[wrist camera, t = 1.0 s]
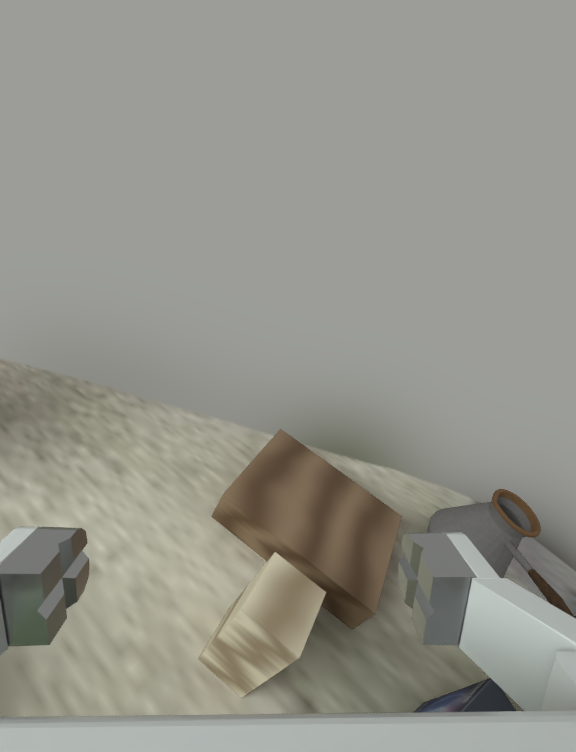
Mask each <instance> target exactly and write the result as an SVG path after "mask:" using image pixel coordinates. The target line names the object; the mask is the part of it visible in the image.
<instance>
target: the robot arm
mask: <svg viewBox="0 0 576 752" xmlns="http://www.w3.org/2000/svg"><path fill="white" fill-rule="evenodd" d="M86 544H87V537H86V531H85V530H83V529H82V528H63V527H25V526H22V527H18V528H15V529H14V530H13V531H12V532H11V533H9V534H8V535H7V536H6V537H5V538H4V539H3V540H2V541H1V542H0V655H1V654H2V653H3V652H5V651H6V650H7V649H8V646H33V645H50V643H51V642H52V640H53V639H54V637H55V636H56V634H57V632H58V631H59V629H60V628H61V626H62V625H63V623H64V622H65V620H66V618H67V614H66V609H67V608H68V607H70V606H71V605H73V604H74V603H76V602H77V601H78V600H79V598H80V596H81V595H82V593H83V591H84V589H85V586H86V583H87V580H88V576H89V558H88V557H87V556H86V555H85V554H84V553H83V551H82V550H83V548H84V547H85V546H86ZM401 548H402V550H403V552H404V554H405V555H404V557H403V558H402V559H401V560H400V561H399V566H398V580H399V587H400V591H401V594H402V597H403V599H404V602H405V603H406V604H407V605H408V606H410V607H411V608H412V609H413V612H412V621H413V623H414V625H415V628H416V630H417V632H418V635H419V637H420V639H421V641H422V644H428V645H460V646H459V648H460V649H461V650H462V651H463V652H464V653H465V654H466V655H467V656H469V657H470V658H471V659H472V660H473V661H474V662H475V663H476V664H477V665H478V666H479V667H480V668H481V669H482V670H483V671H484V672H485V673H486V674H487V675H488V676H489V677H490V678H491V679H492V680H493V681H494V682H495V683H496V684H497V685H498V686H499V687H500V688H501V689H502V690H503V691H505V692H506V693H507V694H508V695H509V696H510V697H511V698H512V699H513V700H514V701H515V702H516V703H517V704H518V705H519V706H520V707H521V708H522V709H523V710H524V711H499V712H421V713H314V714H222V715H135V716H46V717H0V752H576V619H575V618H574V617H572V616H570V615H569V614H567V613H565V612H563V611H562V610H560V609H558V608H557V607H555V606H553V605H551V604H550V603H548V602H546V601H545V600H543V599H541V598H539V597H538V596H536V595H534V594H533V593H531V592H529V591H527V590H526V589H524V588H522V587H521V586H519V585H517V584H515V583H514V582H512V581H510V580H509V579H507V578H500V577H499V576H498V575H497V573H496V572H495V571H494V570H493V568H492V567H491V566H490V565H489V563H488V562H487V561H486V560H485V558H484V557H483V556H482V555H481V553H480V552H479V551H478V550H477V548H476V547H475V546H474V545H473V543H472V542H471V541H470V540H469V538H468V537H467V536H466V535H465V534H463V533H462V532H442V533H404V535H403V537H402V543H401Z"/></svg>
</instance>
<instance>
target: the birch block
mask: <svg viewBox="0 0 576 752" xmlns="http://www.w3.org/2000/svg"><path fill="white" fill-rule="evenodd" d="M325 594H326V592H325V591H324V590H323V589H321V588H320V587H319V586H318V585H316V584H315V583H314V582H312V581H311V580H310V579H309V578H307V577H306V576H305V575H304V574H302V573H301V572H300V571H299V570H297V569H296V568H295V567H294V566H292V565H291V564H290V563H289V562H287V561H286V560H285V559H284V558H282V557H281V556H280V555H279V554H277V553H276V552H275V553H274V554H273V555H272V556H271V558H270V559H269V560H268V561H267V562H266V564H265V565H264V566H263V567H262V569H261V570H260V571H259V572H258V574H257V575H256V576H255V577H254V579H253V580H252V581H251V582H250V584H249V585H248V586H247V587H246V588H245V590H244V591H243V592H242V593H241V595H240V596H239V597H238V598H237V600H236V601H235V602H234V603H233V605H232V606H231V607H230V608H229V610H228V611H227V613H226V615H225V616H224V618H223V619H222V621H221V623H220V624H219V626H218V628H217V629H216V631H215V632H214V634H213V636H212V637H211V639H210V640H209V642H208V644H207V645H206V647H205V648H204V650H203V652H202V653H201V655H200V656H199V658H198V659H199V660H200V661H201V662H202V663H203V664H204V665H205V666H206V667H208V668H209V669H210V670H211V671H212V672H213V673H214V674H215V675H216V676H218V677H219V678H220V679H221V680H222V681H223V682H224V683H225V684H227V685H228V686H229V687H230V688H231V689H232V690H233V691H234V692H235V693H237V694H238V695H239V696H240V697H241V698H242V697H243V696H245V695H246V694H248V693H249V692H251V691H252V690H254V689H255V688H257V687H258V686H259V685H261V684H262V683H264V682H265V681H267V680H268V679H270V678H271V677H273V676H274V675H275V674H277V673H278V672H280V671H281V670H283V669H284V668H286V667H287V666H289V665H290V664H291V663H293V662H294V661H296V660H297V659H299V658H300V656H301V653H302V651H303V649H304V646H305V644H306V641H307V639H308V636H309V634H310V631H311V629H312V626H313V624H314V621H315V619H316V617H317V614H318V612H319V609H320V607H321V604H322V602H323V599H324V597H325Z"/></svg>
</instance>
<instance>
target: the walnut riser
mask: <svg viewBox="0 0 576 752" xmlns="http://www.w3.org/2000/svg"><path fill="white" fill-rule="evenodd" d="M212 517H213V518H214V519H215V520H217V521H218V522H219V523H220V524H222V525H223V526H224V527H225V528H227V529H228V530H229V531H230V532H231V533H233V534H234V535H235V536H236V537H238V538H239V539H240V540H241V541H243V542H244V543H245V544H246V545H248V546H249V547H250V548H251V549H253V550H254V551H255V552H256V553H258V554H259V555H260V556H261V557H263V558H264V559H265V560H266V561H268V560H269V559H270V558H271V556H272V555H273V554H274V553H275V552H276V553H277V554H279V555H280V556H281V557H282V558H284V559H285V560H286V561H287V562H289V563H290V564H291V565H292V566H294V567H295V568H296V569H297V570H299V571H300V572H301V573H302V574H304V575H305V576H306V577H307V578H309V579H310V580H311V581H312V582H314V583H315V584H316V585H318V586H319V587H320V588H321V589H323V590H324V591H325V592H326V594H325V597H324V599H323V602H322V604H321V605H322V606H324V607H325V608H326V609H327V610H328V611H330V612H331V613H332V614H333V615H335V616H336V617H337V618H338V619H340V620H341V621H342V622H343V623H345V624H346V625H347V626H348V627H350V628H351V629H354V628H355V627H357V626H358V625H360V624H361V623H363V622H364V621H366V620H367V619H369V618H370V617H372V616H373V615H375V614H376V610H377V607H378V603H379V599H380V596H381V592H382V588H383V584H384V581H385V577H386V573H387V569H388V566H389V562H390V558H391V554H392V551H393V547H394V543H395V539H396V536H397V532H398V528H399V524H400V521H401V517H402V516H401V515H399V514H398V513H397V512H395V511H394V510H392V509H391V508H390V507H388V506H387V505H385V504H384V503H383V502H381V501H380V500H379V499H377V498H376V497H374V496H373V495H372V494H370V493H369V492H367V491H366V490H365V489H363V488H362V487H360V486H359V485H358V484H356V483H355V482H354V481H352V480H351V479H349V478H348V477H347V476H345V475H344V474H342V473H341V472H340V471H338V470H337V469H336V468H334V467H333V466H331V465H330V464H329V463H327V462H326V461H324V460H323V459H322V458H320V457H319V456H317V455H316V454H315V453H313V452H312V451H311V450H309V449H308V448H306V447H305V446H304V445H302V444H301V443H299V442H298V441H297V440H295V439H294V438H293V437H291V436H290V435H288V434H287V433H286V432H284V431H283V430H281V429H280V430H279V432H278V433H277V434H276V435H275V436H274V437H273V438H272V439H271V440H270V442H269V443H268V444H267V445H266V446H265V447H264V448H263V450H262V451H261V452H260V453H259V454H258V455H257V456H256V457H255V459H254V460H253V461H252V462H251V463H250V464H249V465H248V467H247V468H246V469H245V470H244V471H243V472H242V473H241V474H240V476H239V477H238V478H237V479H236V480H235V481H234V482H233V484H232V485H231V486H230V487H229V488H228V489H227V490H226V491H225V493H224V494H223V495H222V497H221V499H220V501H219V503H218V505H217V507H216V509H215V511H214V513H213V515H212Z"/></svg>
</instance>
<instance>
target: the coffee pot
mask: <svg viewBox="0 0 576 752" xmlns="http://www.w3.org/2000/svg"><path fill="white" fill-rule="evenodd" d="M540 531H541V528H540V523H539V521H538V519H537V517H536V515H535V514H534V512H533V511H532V510H531V508H530V507H529V506H528V505H527V504H526V503H525V502H524V501H523V500H522V499H521V498H520V497H518V496H517V495H515V494H513V493H512V492H510V491H507V490H504V489H499V490H496V491H495V492H494V494H493V497H492V501H491V502H487V503H480V504H473V505H466V506H459V507H452V508H445V509H441V510H439V511H436V512H435V513H434V514H433V516H432V517H431V519H430V522H429V526H428V533H442V532H462V533H463V534H465V535H466V536H467V537H468V538H469V540H470V541H471V542H472V543H473V545H474V546H475V547H476V548H477V550H478V551H479V552H480V553H481V555H482V556H483V557H484V558H485V560H486V561H487V562H488V563H489V565H490V566H491V567H492V568H493V570H494V571H495V572H496V573H497V575H498V576H499V577H500V578H503V577H504V575H505V573H506V571H507V568H508V566H509V564H510V562H511V560H512V558H513V556H514V558H515V559H516V560H517V561H518V562H519V563H520V564H521V566H522V567H523V568H524V569H525V570H526V571H527V572H528V575H529V576H530V577H531V579H532V580H533V581H534V583H535V584H536V585H537V587H538V588H539V589H540V591H541V592H542V593H543V595H544V596H545V597H546V599H547V600H548V601H549V603H550V604H551V605H553V606H555V607H557V608H558V609H560V610H562V611H563V612H565V613H567V614H569V615H570V616H572V617H574V618H575V619H576V616H573V614H572V613H571V611H570V610H569V608H568V607H567V605H566V604H565V602H564V601H563V599H562V598H561V597H560V596H559V595H558V594H557V593H556V592H555V590H554V589H553V588H552V587H551V586H550V585H549V584H548V583H547V582H546V581H545V580H544V579H543V578H542V577H541V576H540V575H539V574H538V573H537V572H536V571H535V570H534V569H533V568H532V567H531V566H530V564H529V563H528V562H527V561H526V559H525V558H524V557H523V556H522V555H521V553H520V552H519V551H518V550H517V547H518V545H519V543H520V541H521V539H522V538H523V537H526V536H527V537H536V536H538V535H539V534H540Z"/></svg>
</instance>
